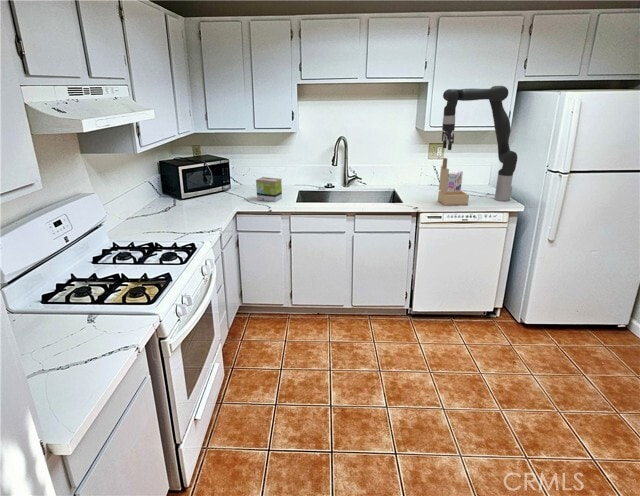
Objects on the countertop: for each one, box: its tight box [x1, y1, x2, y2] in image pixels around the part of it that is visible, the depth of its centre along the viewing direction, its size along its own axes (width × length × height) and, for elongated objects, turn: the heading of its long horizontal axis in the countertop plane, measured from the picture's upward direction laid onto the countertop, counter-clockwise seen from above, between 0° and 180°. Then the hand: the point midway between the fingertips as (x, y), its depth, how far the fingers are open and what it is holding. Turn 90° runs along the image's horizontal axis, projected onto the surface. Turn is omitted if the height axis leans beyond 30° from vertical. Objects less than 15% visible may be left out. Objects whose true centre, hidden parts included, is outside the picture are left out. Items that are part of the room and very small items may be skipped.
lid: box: [438, 157, 450, 194], centre depth 268 cm, size 22×12×2 cm
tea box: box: [255, 176, 283, 203], centre depth 285 cm, size 15×10×15 cm, turn 68°
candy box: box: [447, 170, 464, 191], centre depth 293 cm, size 14×6×16 cm, turn 143°
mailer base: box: [437, 190, 470, 207], centre depth 274 cm, size 16×12×7 cm
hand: (446, 149), depth 265 cm, fingers open, 8 cm apart
